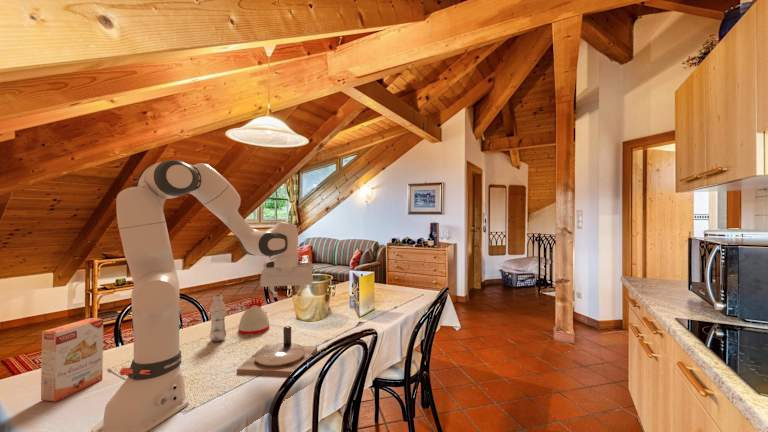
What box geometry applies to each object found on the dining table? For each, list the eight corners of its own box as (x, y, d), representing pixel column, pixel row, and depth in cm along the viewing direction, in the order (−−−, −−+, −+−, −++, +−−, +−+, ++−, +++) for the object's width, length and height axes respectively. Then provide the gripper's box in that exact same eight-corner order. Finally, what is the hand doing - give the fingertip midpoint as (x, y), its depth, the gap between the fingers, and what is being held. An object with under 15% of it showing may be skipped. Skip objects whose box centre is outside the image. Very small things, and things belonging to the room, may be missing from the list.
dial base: (297, 376, 112) (297, 371, 112) (236, 373, 114) (236, 368, 114) (317, 350, 134) (317, 345, 134) (265, 348, 136) (265, 343, 136)
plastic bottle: (223, 336, 149) (222, 293, 149) (228, 340, 145) (228, 295, 145) (207, 340, 145) (207, 295, 145) (212, 344, 140) (212, 298, 140)
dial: (294, 368, 114) (294, 343, 114) (245, 365, 116) (245, 341, 116) (310, 347, 132) (310, 326, 132) (268, 345, 134) (268, 325, 134)
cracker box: (56, 403, 97) (55, 332, 97) (40, 401, 98) (39, 331, 98) (104, 379, 110) (104, 317, 110) (89, 378, 111) (89, 316, 111)
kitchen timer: (272, 330, 157) (272, 299, 157) (241, 337, 149) (241, 304, 149) (265, 323, 168) (264, 294, 168) (236, 328, 161) (236, 298, 161)
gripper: (313, 260, 136) (314, 293, 136) (262, 261, 133) (262, 295, 133) (312, 262, 130) (313, 297, 130) (259, 264, 126) (259, 299, 127)
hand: (287, 296), depth 131 cm, fingers open, 8 cm apart
